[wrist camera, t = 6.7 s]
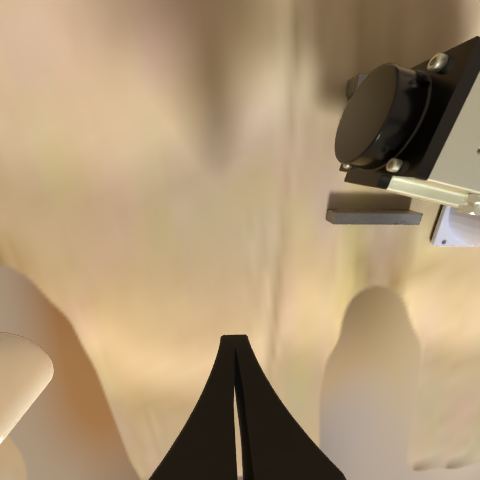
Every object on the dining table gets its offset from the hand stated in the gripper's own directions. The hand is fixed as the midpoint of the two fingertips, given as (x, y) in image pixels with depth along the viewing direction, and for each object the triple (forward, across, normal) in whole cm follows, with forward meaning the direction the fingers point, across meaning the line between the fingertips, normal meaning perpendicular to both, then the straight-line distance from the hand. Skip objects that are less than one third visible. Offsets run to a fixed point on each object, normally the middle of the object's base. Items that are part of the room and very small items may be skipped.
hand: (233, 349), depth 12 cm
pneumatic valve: (+11, -12, -10) cm, 19 cm away
